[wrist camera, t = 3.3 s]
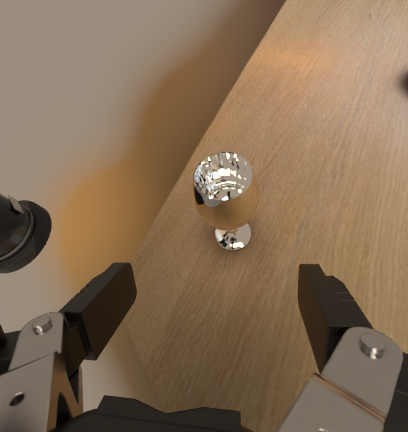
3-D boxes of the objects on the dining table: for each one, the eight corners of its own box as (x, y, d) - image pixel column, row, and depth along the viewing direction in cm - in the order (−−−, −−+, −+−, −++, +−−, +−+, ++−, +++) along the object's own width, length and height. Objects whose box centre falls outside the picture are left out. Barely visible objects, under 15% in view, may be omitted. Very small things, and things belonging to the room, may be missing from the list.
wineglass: (255, 258, 27) (257, 210, 16) (206, 252, 28) (179, 205, 18) (258, 213, 29) (262, 146, 19) (213, 210, 31) (193, 146, 20)
